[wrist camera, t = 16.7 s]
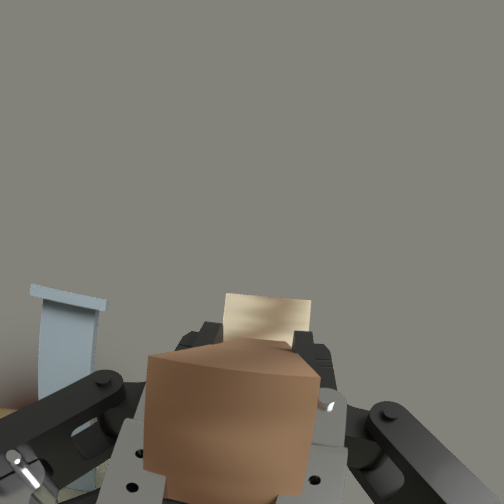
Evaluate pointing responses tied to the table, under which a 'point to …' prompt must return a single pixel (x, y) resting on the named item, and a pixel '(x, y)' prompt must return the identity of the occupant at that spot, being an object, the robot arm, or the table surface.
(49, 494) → the robot arm
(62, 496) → the table surface
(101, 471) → the table surface
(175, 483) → the brown wooden bar
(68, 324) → the tall plinth
